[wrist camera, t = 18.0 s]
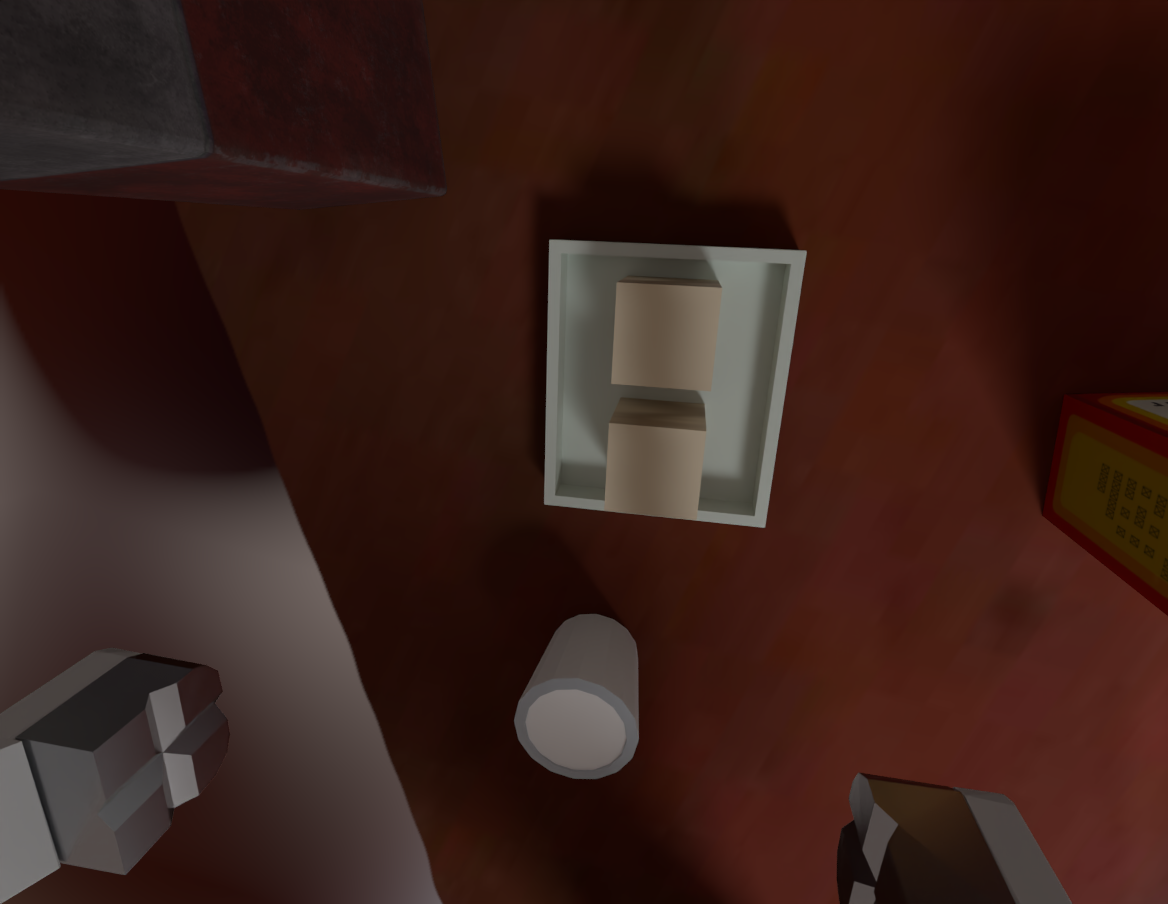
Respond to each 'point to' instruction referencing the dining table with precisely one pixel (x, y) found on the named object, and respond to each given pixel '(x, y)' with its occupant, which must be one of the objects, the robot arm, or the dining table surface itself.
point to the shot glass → (583, 700)
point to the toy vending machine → (219, 101)
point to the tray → (732, 408)
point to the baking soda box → (1115, 484)
